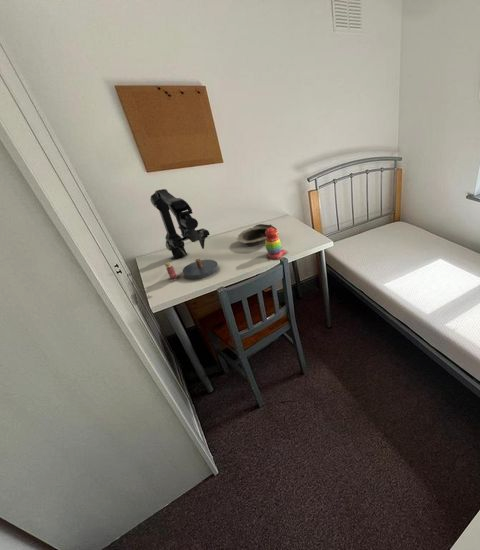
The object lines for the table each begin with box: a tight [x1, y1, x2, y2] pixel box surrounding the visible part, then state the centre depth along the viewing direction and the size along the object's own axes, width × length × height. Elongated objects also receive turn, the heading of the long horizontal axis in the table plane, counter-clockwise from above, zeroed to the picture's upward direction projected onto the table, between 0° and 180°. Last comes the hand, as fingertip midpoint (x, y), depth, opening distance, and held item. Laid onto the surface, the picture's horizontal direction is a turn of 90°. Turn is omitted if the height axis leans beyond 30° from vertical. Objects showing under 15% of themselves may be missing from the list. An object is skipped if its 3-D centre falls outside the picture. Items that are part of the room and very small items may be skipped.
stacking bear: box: [264, 227, 287, 260], centre depth 176 cm, size 11×10×18 cm
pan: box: [184, 266, 219, 281], centre depth 163 cm, size 17×17×3 cm
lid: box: [182, 258, 219, 276], centre depth 161 cm, size 18×18×6 cm
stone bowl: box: [237, 223, 278, 247], centre depth 195 cm, size 25×25×9 cm
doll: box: [164, 261, 179, 281], centre depth 156 cm, size 4×4×10 cm
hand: (194, 251), depth 157 cm, fingers open, 9 cm apart
